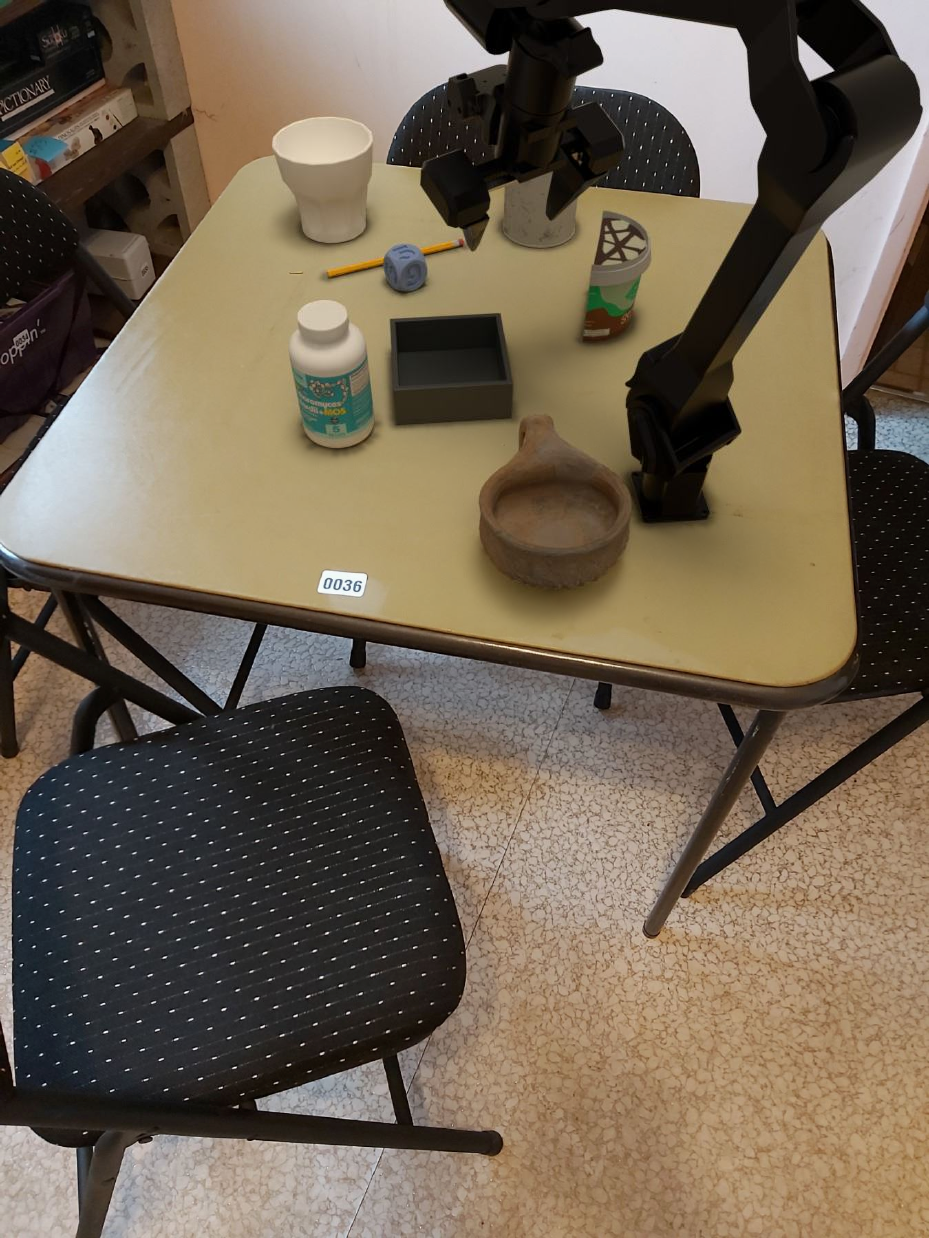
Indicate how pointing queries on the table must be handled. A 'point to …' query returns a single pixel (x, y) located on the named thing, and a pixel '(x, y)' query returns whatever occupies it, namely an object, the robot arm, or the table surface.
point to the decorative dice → (405, 267)
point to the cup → (327, 174)
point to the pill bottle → (331, 375)
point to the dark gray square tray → (450, 368)
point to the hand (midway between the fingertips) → (510, 232)
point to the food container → (615, 276)
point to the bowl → (553, 512)
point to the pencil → (380, 261)
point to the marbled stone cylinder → (535, 215)
